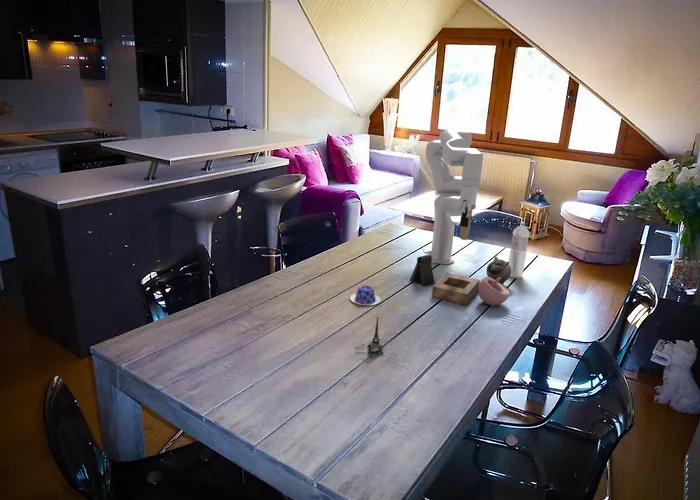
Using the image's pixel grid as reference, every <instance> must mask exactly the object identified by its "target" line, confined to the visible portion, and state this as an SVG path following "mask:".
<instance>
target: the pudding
mask: <svg viewBox="0 0 700 500" xmlns="http://www.w3.org/2000/svg"><path fill="white" fill-rule="evenodd" d="M374 290H375V289H374V287H372V286H370V285H360V287H358V289H357V291H356V293H353V294H351V295H350V297H349V300H350V301H351V302H353V303H354V304H356V305H360V306H374V305H377V304H379V303H381V301H382V299H381V297H380V296H379V295H377V294H375V291H374Z"/></svg>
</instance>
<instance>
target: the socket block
mask: <svg viewBox="0 0 700 500" xmlns="http://www.w3.org/2000/svg"><path fill="white" fill-rule="evenodd" d="M480 281H481V279H478V278H474V277H469V276H464V275H461V274H460V275H459V274H456V273H451V272H446V273H445V274H444V275H443V276H442V277H440V278H439V280H437V282H435V284H433V285H432V289H431V298H432V299H436V300H440V301H444V302H448V303H452V304H456V305H459V306H464V307H467V305H468V304H469V302H471V300H472V299H474V297H475V295H476V294H477V293H478V285H479V283H480Z"/></svg>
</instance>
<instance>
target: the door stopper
mask: <svg viewBox="0 0 700 500" xmlns="http://www.w3.org/2000/svg"><path fill="white" fill-rule="evenodd" d="M428 255H429V254H426V255H421V256H418V257H417V258H416V264H415V266H414V268H413V272H412V273H411V275H410V278H409V281H410V282H412V283H414V284H416V285H419V286H421V287H423V288H427V287H429V286H433V285H434V284H435V283H436V282H435V277H434V270H433V262H431V261H432V257H431V255H429V256H428Z"/></svg>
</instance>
